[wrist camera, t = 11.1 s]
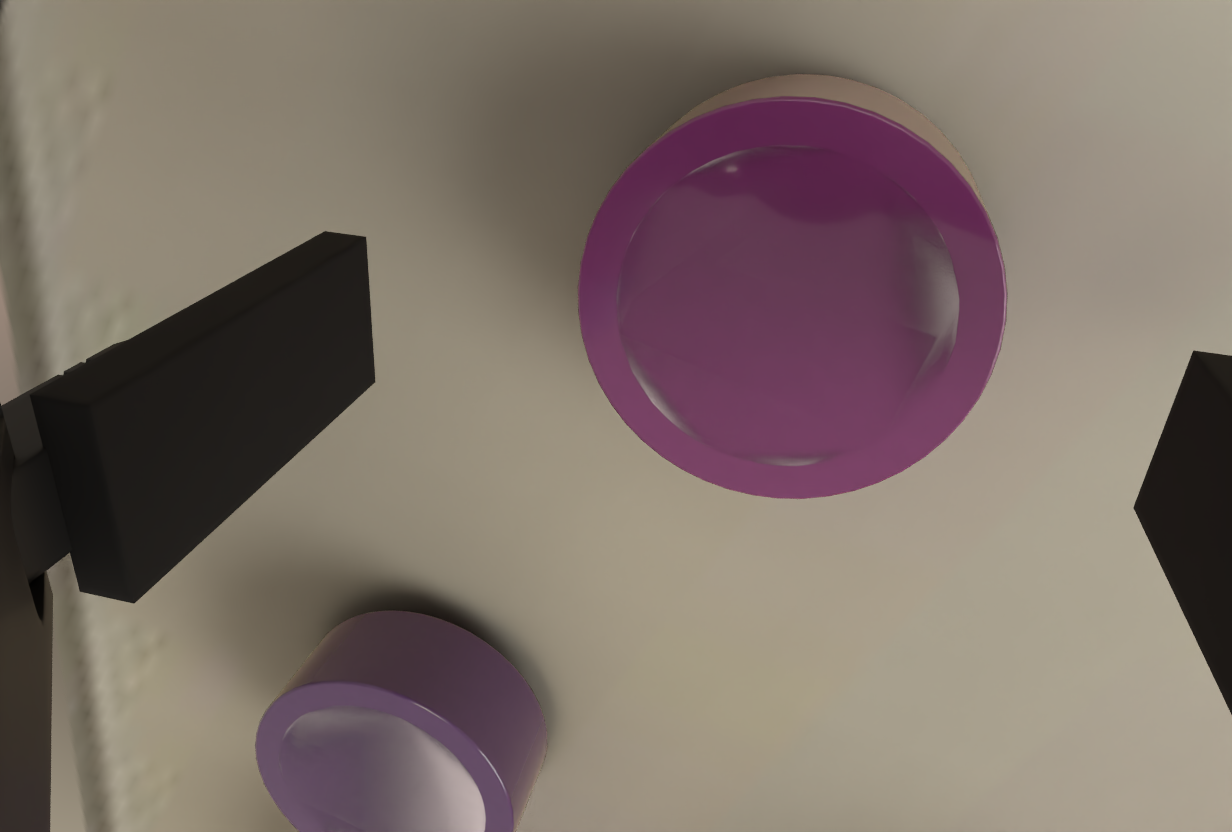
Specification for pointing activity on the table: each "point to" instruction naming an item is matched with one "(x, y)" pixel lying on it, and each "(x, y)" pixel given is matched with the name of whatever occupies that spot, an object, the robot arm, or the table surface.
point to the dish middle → (402, 732)
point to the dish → (794, 289)
